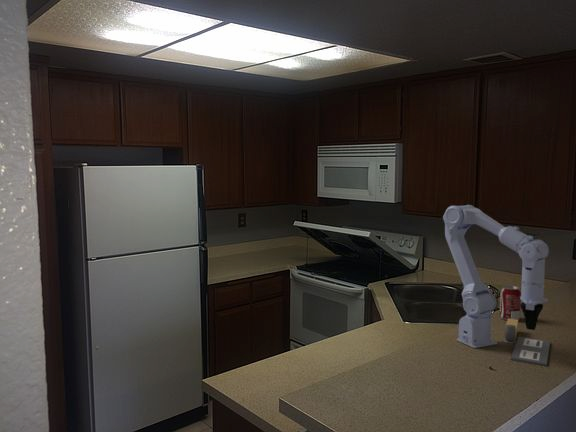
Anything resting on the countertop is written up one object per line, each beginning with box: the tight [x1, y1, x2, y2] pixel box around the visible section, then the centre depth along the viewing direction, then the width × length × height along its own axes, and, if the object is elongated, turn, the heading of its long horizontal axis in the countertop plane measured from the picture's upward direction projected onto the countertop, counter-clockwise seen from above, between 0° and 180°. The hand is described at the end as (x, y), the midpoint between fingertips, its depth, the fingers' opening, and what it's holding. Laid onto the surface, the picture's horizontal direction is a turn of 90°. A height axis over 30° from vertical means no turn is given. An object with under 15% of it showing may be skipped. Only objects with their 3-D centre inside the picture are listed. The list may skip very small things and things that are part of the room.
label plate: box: [502, 336, 551, 367], centre depth 144 cm, size 22×13×1 cm, turn 149°
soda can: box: [499, 285, 522, 321], centre depth 176 cm, size 7×7×12 cm
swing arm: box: [504, 318, 519, 341], centre depth 157 cm, size 14×3×4 cm, turn 151°
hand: (530, 328), depth 138 cm, fingers closed
